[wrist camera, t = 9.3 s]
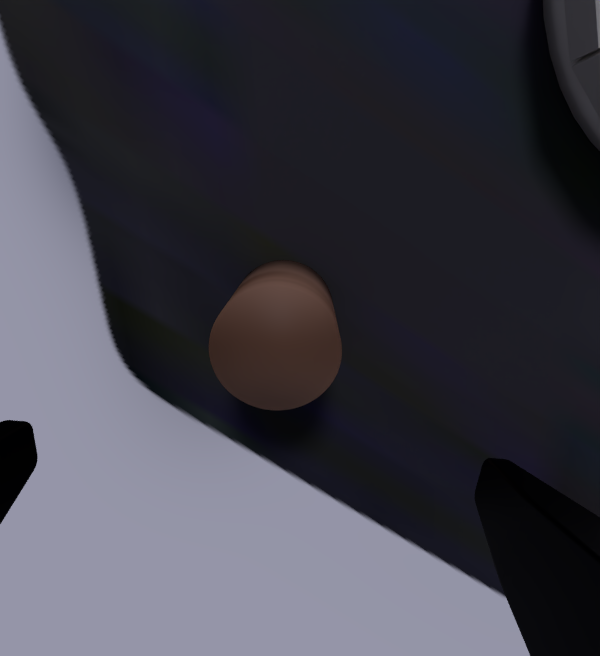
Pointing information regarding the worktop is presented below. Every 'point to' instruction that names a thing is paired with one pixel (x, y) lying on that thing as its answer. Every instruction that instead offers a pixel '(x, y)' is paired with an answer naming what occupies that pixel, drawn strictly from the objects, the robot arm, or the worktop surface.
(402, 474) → the worktop surface
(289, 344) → the bead terracotta
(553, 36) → the tray
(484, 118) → the worktop surface
